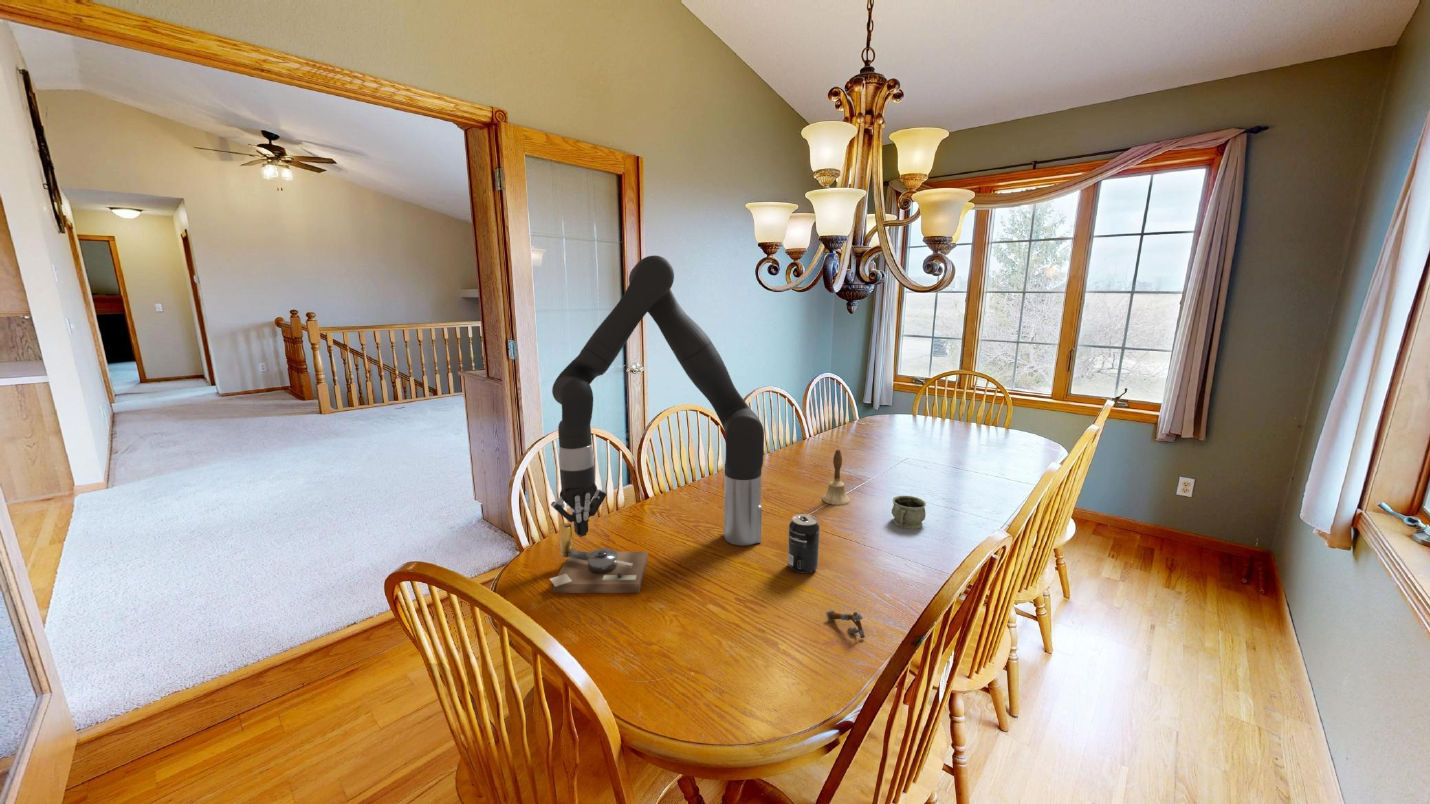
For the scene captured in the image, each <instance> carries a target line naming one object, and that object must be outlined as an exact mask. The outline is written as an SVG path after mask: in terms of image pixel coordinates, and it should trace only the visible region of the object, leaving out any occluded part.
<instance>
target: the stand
mask: <svg viewBox="0 0 1430 804" xmlns="http://www.w3.org/2000/svg"><path fill="white" fill-rule="evenodd" d="M586 552H587V553H591V552H592V551H586ZM616 552H617V560H619V561H624V562H629V563H633V566H632V567H631V568H628V567H623V566H618V565H617V567H616V568H615V569H613V570H611V571H609V572H605V573H595V572H592V571H590V570H589V569H588V561H586V560H581V559H577V558H572V557H566V560H565V561H564V563H563V565H562V567H561V568H560V570H559V572H558V574H557V576H554V577H551V578H549V580H550V581H551V583H552V589H553V590H552V591H553V594H585V593H586V594H627V593H628V594H630V593H631V594H639V593H640V592H641V587H642V583H643V579H644V575H645V571H646V568H647V563H648V551H616Z"/></svg>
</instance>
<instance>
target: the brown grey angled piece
mask: <svg viewBox="0 0 1430 804" xmlns="http://www.w3.org/2000/svg"><path fill="white" fill-rule="evenodd" d="M825 613H826V618H827V620H828V622H829V623H831V622H832V621H834V620H841V621H852V622H853V623H854V624H855V626H854V627H853V626H850V627H848V628H847V631H848V633H849V634H853V635H856V634H859V636H860V638H861V639H864V638H865V637H866V635H865V631H864V628H863V626H862V622H861V620H863V618H864V617H863V615H862V614H861V613H858V611H854V612H853V614H851V613H848V612H847V613H839V612H835V610H834V609H829V610H828V611H826V612H825Z"/></svg>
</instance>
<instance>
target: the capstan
mask: <svg viewBox="0 0 1430 804" xmlns="http://www.w3.org/2000/svg"><path fill="white" fill-rule="evenodd" d="M558 527H559V529H558V530H559V543H560V544H559V545H560V556H561V557H562V558H567V557H572V558H577V559H581V560H586V561H588V569H589V570H590V571H592V572H595V573H605V572H609V571H611V570H613V569H615V568H616V567H617V565H618V566H623V567H628V568H631V567H632V566H633V563H629V562H624V561H619V560H617V552H618V551H616V550H614V549H612V548H598V549H595V550H593V551H590V552H591V553H587V552H588V551H581V550H576V549H573V537H572V536H573V534H572V533H573V531H572V524H571V523H570V522H569V523H567V522H565V523H562V524H559V526H558Z"/></svg>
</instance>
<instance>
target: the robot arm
mask: <svg viewBox="0 0 1430 804" xmlns="http://www.w3.org/2000/svg"><path fill="white" fill-rule="evenodd" d="M674 280H675V272H674V269H673V266H672V264H671V263H670V261H669V260H668V259H666V258H665V257H663V256H660V255H656V254H655V255H649V256H646V257H643V258H642V259H640V260H639V261H638V262H637V263H636V264H635V265H634V267H633V268H632V269H631V271H630V273H629V277H628V284H629V285H628V286H627V287H626V289H625V292H624V293H623V295H622V297H621V298H620V299H619V301H618V303H616V305H615V306H614V307H613V309H612V310H611V312H610V313H609V314H608V315H607V316H606V317H605V318H604V320H603V321H602V322H601V323H600V325H598V327H597V328H596V330H595V331H594V332H593V334H592V335H591V336H590V338H589V339H588V341H586V343H585V345H584V346H583V348H582V349H581V350H580V352H579V354H578V355H577V356H576V357H574V359H573V360H572V361H571V362H570V363H568V365H567V366H566V367H565V368H564V369H562V371H561V372H560V373H559V375H558V376H557V377H556V379H555V381H554V383H553V385H552V388H551V389H552V390H551V393H552V397H553V398H554V400H555V401H556V403H558V404H560V405H561V420H560V421H559V423H558V427H557V432H558V434H557V435H558V443H559V444H558V445H559V447H558V448H559V449H558V450H559V451H558V460H559V461H558V462H559V463H558V465H559V477H560V478H559V479H560V487H561V489H560V492H559V498H557V499H556V501H552V502H551V503H550V506H551V507H552V508H553V509H554V511H557V513H559V514H560V515H561V516H562V517H563V518H564V519H566V520H567V521H568V522H569V523H573V528H574V530H573V531H574V534H576V535H577V536H578V537H580V538H583V537H585V536H587V533H588V532H589V518H591V517H593V516H595V515H596V514H597V512H598V511H599V509H600V507H601V506H602V504H603V502H604V500H605V498H606V497H607V493H606V492H605V491H603V490H602V489H598V487H597V485H596V474H595V472H596V471H595V457H594V450H593V442H592V428H591V422H592V417H593V410H594V409H593V408H594V393H593V389H592V387H591V384H592V382H593V381H594V380H595V379H596V378H597V377H599V376H602V375H604V374H605V373H606V372H607V371H608V370H609V368H610V367H611V366H612V364H613V363H614V362H615V360H616V358H617V357H618V356H619V353H620V352H621V351H622V349H623V348H624V346H625V344H626V343H627V341H628V340H629V338H630V337H631V336H632V334H633V332H634V331H635V329H636V328H637V326H638V325H639V324H640V322H641V321H642V320H643V318H644V317H645V316H646V314H647V313H648V315H650V317H651V318H652V319H653V321H654V322H655V324H656V325H657V326H658V329H659V331H660V332H661V335H662V336H663V338H664V339H665V341H666V343H667V344H668V346H669V348H670V350H671V351H672V352H673V354H674V356H675V358H676V359H677V361H678V363H679V364H680V366H681V368H682V369H683V371H684V372H685V374H686V376H687V377H688V378H689V379H690V381H691V382H692V383H693V384H694V386H695V387H696V388H697V389H698V391H699V392H700V393H701V394H703V396H704V397H705V398H706V399H707V401H708V402H709V404H710V405H711V406H712V408H713V410H714V412H715V414H716V415H717V417H718V419H719V421H720V424H721V426H722V429H723V431H724V434H725V463H724V494H723V495H724V500H723V502H724V505H723V506H724V511H723V527H724V528H723V532H724V534H723V538H724V540H725V541H726V542H727V543H729V544H731V545H736V546H740V547H741V546H751V545H754V544H759V543H760V544H761V543H762V517H763V516H762V515H763V513H762V512H763V510H762V509H763V506H762V471H763V470H762V469H763V465H764V453H765V452H764V450H765V449H764V448H765V430H764V426H763V423H762V421H761V419H759V417H758V415H757V414H756V413H755V412H754V411H753V410H752V409H751V407H750V406H749V405H748V403H747V402H746V401H745V399H744V398H743V397H742V395H741V394H740V393H739V391H738V390H737V387H736V386H735V385H734V382H733V381H732V378H731V376H730V373H729V372H728V368H727V367H726V365H725V363H724V360H723V359H722V357H721V355H720V353H719V351H718V350H717V348H716V347H715V345H714V343H713V342H712V340H711V339H710V337H709V336H708V334H707V333H706V332H705V331H704V330H703V329H702V327H701V326H700V325H699V324H698V323H696V322H695V321H694V320H693V319H692V318H691V316H690V315H688V314H687V313H686V312H685V310H683V308H682V307H681V305H680V304H679V302H678V300H677V299H676V297H675V295H674V293H673V291H672V289H671V288H672V287H673V284H674ZM565 503H566V504H567V506H568V507H569V509H570V511H571V514H570V513H569V512H568V511H566V509H564V508H565Z"/></svg>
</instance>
